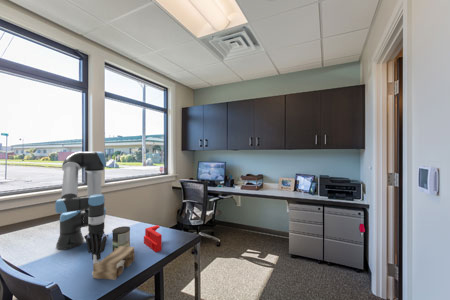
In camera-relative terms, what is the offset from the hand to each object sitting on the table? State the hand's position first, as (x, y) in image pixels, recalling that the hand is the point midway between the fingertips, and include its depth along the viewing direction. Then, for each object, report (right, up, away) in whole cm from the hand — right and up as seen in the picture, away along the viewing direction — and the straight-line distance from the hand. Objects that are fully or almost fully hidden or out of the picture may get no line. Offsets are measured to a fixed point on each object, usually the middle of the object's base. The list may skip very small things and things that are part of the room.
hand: (96, 265), depth 110 cm
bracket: (+25, -2, +26) cm, 36 cm away
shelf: (+11, -1, -1) cm, 11 cm away
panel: (+9, -2, -2) cm, 9 cm away
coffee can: (+4, -2, +18) cm, 19 cm away
